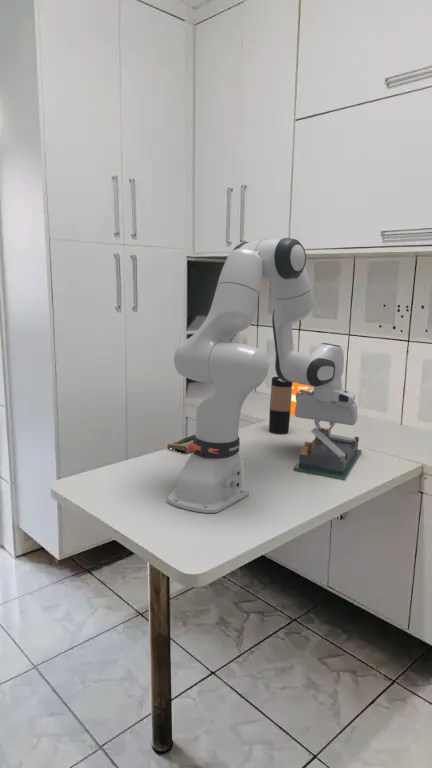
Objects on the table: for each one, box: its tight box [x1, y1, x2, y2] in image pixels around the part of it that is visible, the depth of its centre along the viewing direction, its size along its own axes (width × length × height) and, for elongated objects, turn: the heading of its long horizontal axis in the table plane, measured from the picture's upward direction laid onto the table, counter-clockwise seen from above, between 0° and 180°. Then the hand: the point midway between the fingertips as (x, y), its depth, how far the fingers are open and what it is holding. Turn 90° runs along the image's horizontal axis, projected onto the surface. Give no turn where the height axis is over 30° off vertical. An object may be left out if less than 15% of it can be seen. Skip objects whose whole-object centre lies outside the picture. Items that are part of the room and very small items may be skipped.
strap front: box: [310, 426, 346, 458], centre depth 153 cm, size 3×12×1 cm
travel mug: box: [268, 376, 292, 435], centre depth 191 cm, size 8×8×20 cm
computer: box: [167, 433, 196, 455], centre depth 172 cm, size 16×8×3 cm, turn 147°
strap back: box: [322, 433, 356, 443], centre depth 170 cm, size 3×12×1 cm, turn 65°
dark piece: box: [292, 427, 362, 481], centre depth 162 cm, size 28×15×7 cm, turn 155°
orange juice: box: [290, 382, 311, 417], centre depth 221 cm, size 8×9×20 cm
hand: (323, 433), depth 172 cm, fingers closed, pressing on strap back
